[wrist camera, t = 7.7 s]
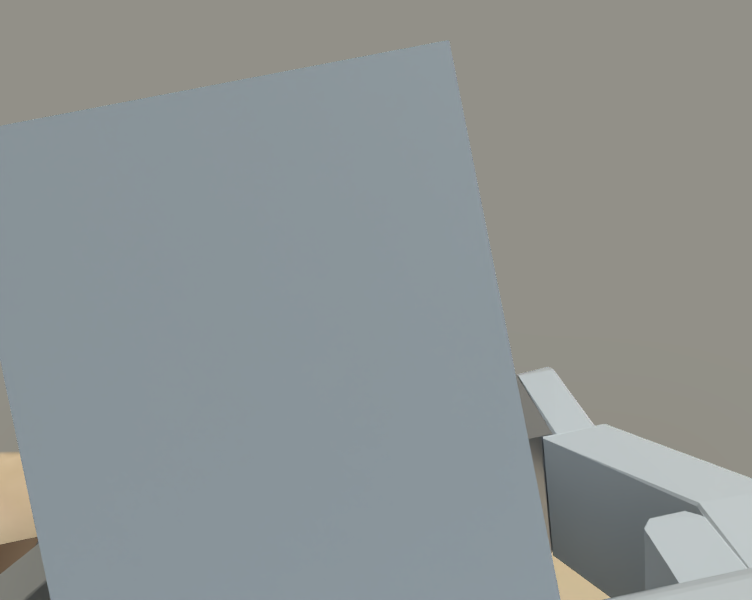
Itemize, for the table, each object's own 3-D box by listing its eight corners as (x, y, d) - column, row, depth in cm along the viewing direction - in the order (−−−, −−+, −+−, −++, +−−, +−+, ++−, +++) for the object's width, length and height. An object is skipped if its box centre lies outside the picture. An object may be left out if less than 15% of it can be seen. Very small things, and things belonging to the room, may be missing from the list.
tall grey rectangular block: (300, 1790, 5) (-48, 136, 5) (341, 647, 21) (261, 257, 21) (773, 1664, 5) (448, 40, 5) (454, 622, 21) (376, 235, 21)
